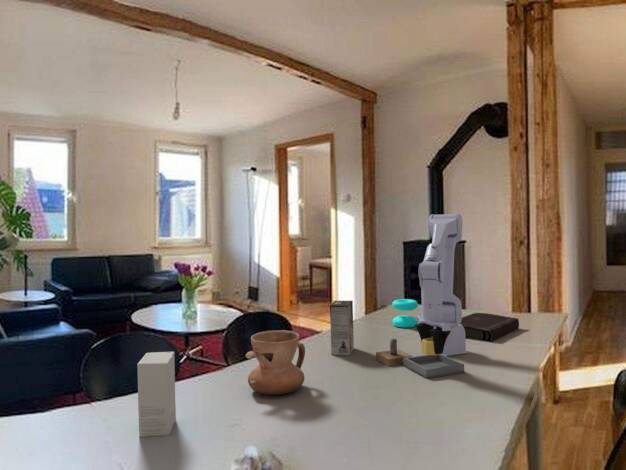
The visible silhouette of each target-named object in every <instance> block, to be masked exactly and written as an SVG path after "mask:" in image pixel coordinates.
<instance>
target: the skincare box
mask: <svg viewBox="0 0 626 470" xmlns="http://www.w3.org/2000/svg"><path fill="white" fill-rule="evenodd" d="M175 362H176V361H175V351H158V352H157V351H155V352H154V351H152V352H146V353H145V354H144V355H143V357H142V358H141V359H140V360H139V361H138V363H137V364H136V367H137V368H136V369H137V400H138V401H137V403H138V406H137V407H138V437H139V438H146V437H147V438H149V437H164V436H170V434H171V432H172V430H173V427H174V425H175V422H176V420H177V415H176V413H177V412H176V406H177V405H176V376H175V375H176V371H175V369H176V368H175V367H176V365H175Z"/></svg>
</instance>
